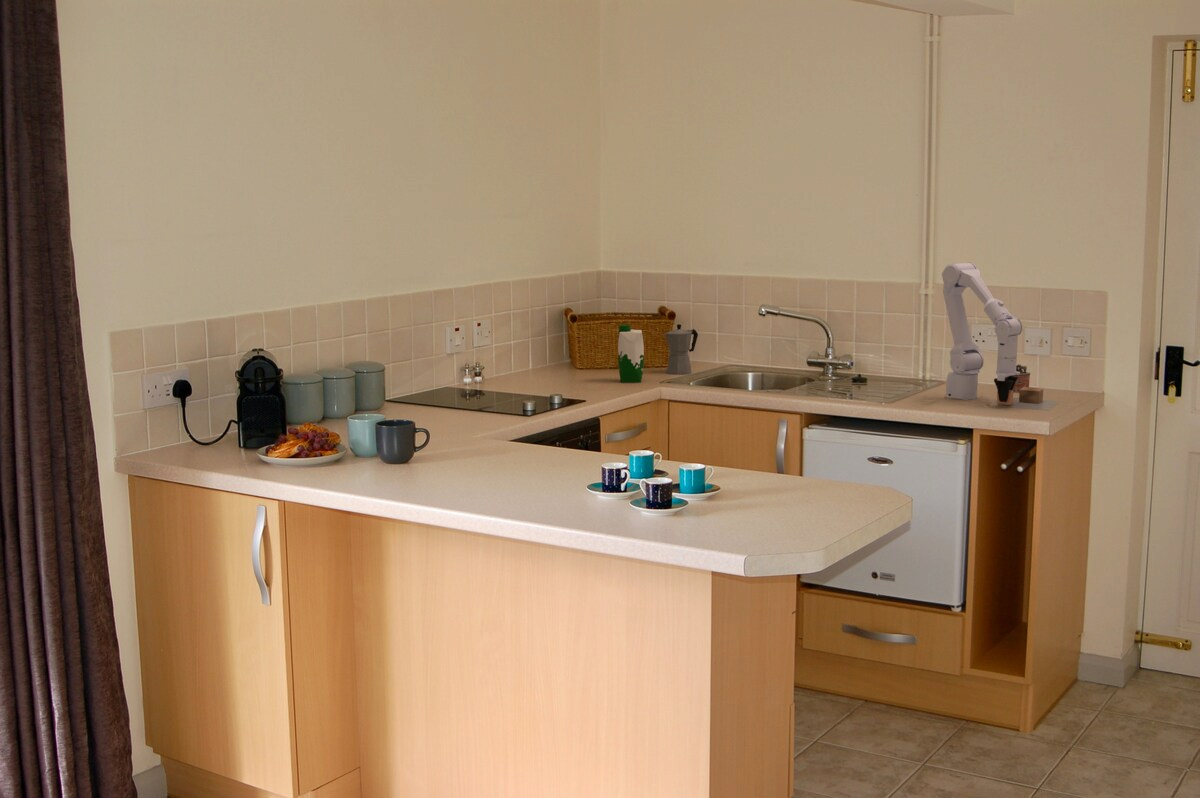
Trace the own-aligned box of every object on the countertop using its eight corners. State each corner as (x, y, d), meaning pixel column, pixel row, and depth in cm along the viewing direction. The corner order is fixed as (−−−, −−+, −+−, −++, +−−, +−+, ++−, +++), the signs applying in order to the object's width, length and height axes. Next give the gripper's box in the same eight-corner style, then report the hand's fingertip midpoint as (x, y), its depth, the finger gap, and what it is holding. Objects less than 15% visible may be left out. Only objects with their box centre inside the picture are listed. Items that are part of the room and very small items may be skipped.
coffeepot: (672, 376, 466) (673, 326, 463) (656, 373, 473) (656, 324, 470) (705, 372, 475) (705, 323, 471) (689, 369, 482) (689, 321, 479)
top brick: (996, 403, 398) (997, 391, 398) (999, 401, 402) (1000, 389, 401) (1009, 404, 396) (1010, 392, 396) (1012, 402, 400) (1013, 390, 399)
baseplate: (988, 408, 398) (988, 405, 398) (1001, 399, 413) (1002, 396, 413) (1048, 413, 389) (1049, 410, 389) (1060, 404, 404) (1060, 401, 404)
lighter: (1029, 394, 422) (1031, 364, 420) (1028, 396, 419) (1030, 365, 417) (1004, 392, 426) (1005, 363, 424) (1003, 394, 423) (1004, 364, 421)
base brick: (1018, 402, 403) (1019, 389, 402) (1023, 399, 408) (1023, 386, 407) (1038, 403, 400) (1039, 391, 399) (1042, 400, 405) (1043, 388, 404)
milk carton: (618, 379, 460) (618, 323, 456) (643, 379, 459) (643, 323, 456) (618, 383, 451) (618, 326, 447) (644, 383, 451) (643, 326, 447)
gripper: (1015, 361, 388) (1012, 405, 391) (1025, 355, 401) (1023, 397, 403) (991, 359, 392) (989, 403, 394) (1002, 353, 404) (1000, 396, 407)
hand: (1004, 400), depth 399 cm, fingers closed on top brick, 4 cm apart
